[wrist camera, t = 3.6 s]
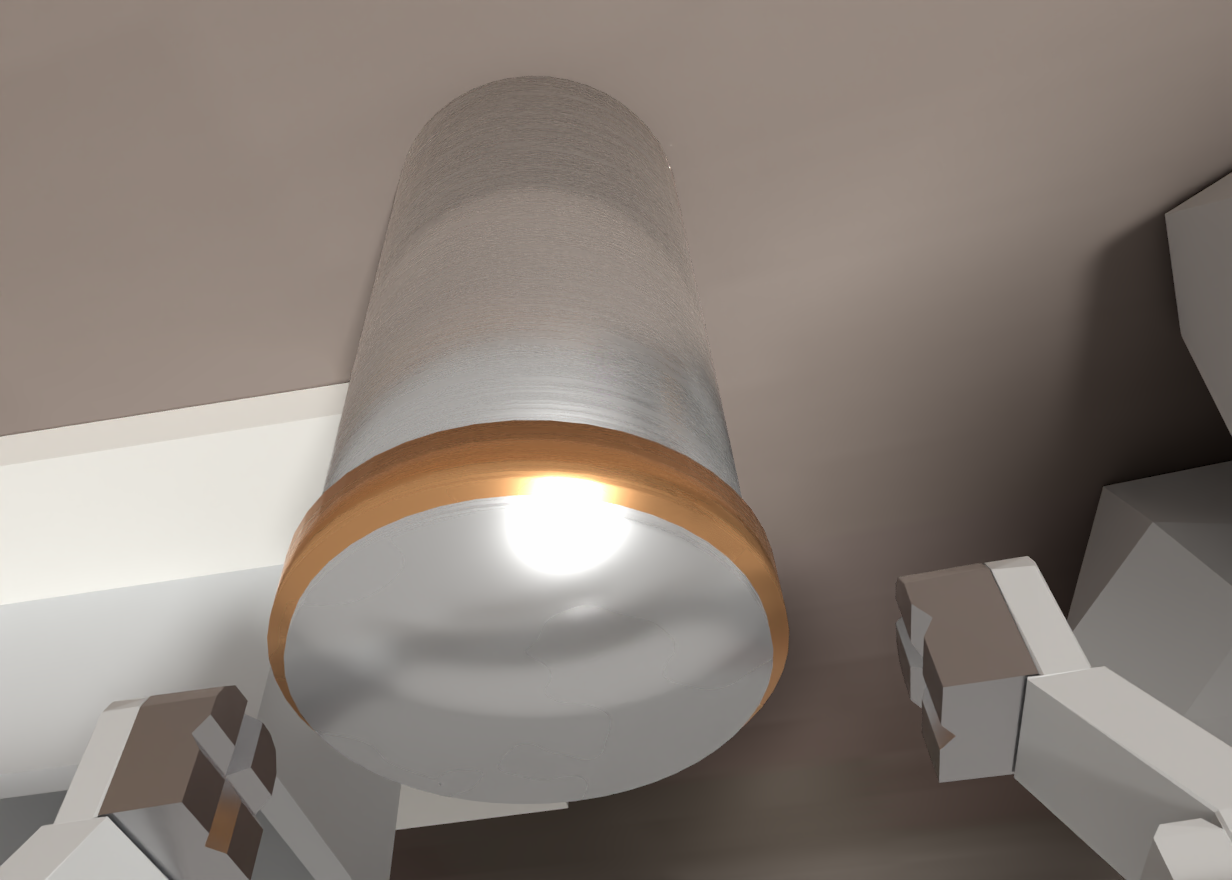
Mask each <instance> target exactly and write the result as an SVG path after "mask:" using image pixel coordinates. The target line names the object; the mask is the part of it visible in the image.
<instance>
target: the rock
mask: <svg viewBox="0 0 1232 880" xmlns="http://www.w3.org/2000/svg"><path fill="white" fill-rule="evenodd" d="M1165 219H1166V227H1167V234H1168V241H1169V249H1170V256H1171V264H1172V271H1173V279H1174V286H1175V294H1176V301H1177V309H1178V316H1179V324H1180V331H1181V336H1182V338H1183V340H1184V342H1185V344H1186V346H1187V348H1188V350H1189V352H1190V354H1191V356H1192V358H1193V360H1194V362H1195V364H1196V366H1197V368H1198V370H1199V372H1200V374H1201V376H1202V378H1203V380H1204V382H1205V384H1206V386H1207V388H1208V390H1209V392H1210V394H1211V396H1212V398H1213V400H1214V402H1215V404H1216V406H1217V408H1218V410H1219V412H1220V414H1221V416H1222V418H1223V420H1224V422H1225V424H1226V426H1227V428H1228V430H1229V432H1230V434H1231V436H1232V172H1231V173H1230V174H1228V175H1227V176H1225V177H1223V178H1222V179H1220V180H1219V181H1217V182H1215V183H1214V184H1212V185H1211V186H1209V187H1207V188H1206V189H1204V190H1203V191H1201V192H1199V193H1198V194H1196V195H1195V196H1193V197H1191V198H1190V199H1188V200H1187V201H1185V202H1183V203H1182V204H1180V205H1179V206H1177V207H1175V208H1174V209H1172V210H1171V211H1169V212H1167V213H1166V214H1165ZM1067 622H1068V624H1069V626H1070V628H1071V630H1072V632H1073V634H1074V635H1075V637H1076V639H1077V641H1078V643H1079V645H1080V647H1081V649H1082V650H1083V652H1084V654H1085V656H1086V658H1087V660H1088V662H1089V664H1090V665H1091V667H1100V666H1106V667H1108V668H1109V669H1111V670H1112V671H1114V672H1115V673H1117V674H1119V675H1120V676H1122V677H1123V678H1125V679H1126V680H1128V681H1129V682H1131V683H1133V684H1134V685H1136V686H1137V687H1139V688H1140V689H1142V690H1143V691H1145V692H1147V693H1148V694H1150V695H1151V696H1153V697H1154V698H1156V699H1157V700H1159V701H1161V702H1162V703H1164V704H1165V705H1167V706H1168V707H1170V708H1171V709H1173V710H1175V711H1176V712H1178V713H1179V714H1181V715H1182V716H1184V717H1185V718H1187V719H1189V720H1190V721H1192V722H1193V723H1195V724H1196V725H1198V726H1199V727H1201V728H1203V729H1204V730H1206V731H1207V732H1209V733H1210V734H1212V735H1213V736H1215V737H1217V738H1218V739H1220V740H1221V741H1223V742H1224V743H1226V744H1227V745H1229V746H1231V747H1232V461H1228V462H1223V463H1218V464H1213V465H1208V466H1203V467H1198V468H1193V469H1188V470H1183V471H1178V472H1173V473H1168V474H1163V475H1158V476H1153V477H1148V478H1143V479H1138V480H1133V481H1128V482H1123V483H1118V484H1113V485H1108V486H1103V489H1102V493H1101V497H1100V500H1099V504H1098V508H1097V511H1096V515H1095V519H1094V522H1093V526H1092V530H1091V533H1090V537H1089V541H1088V544H1087V548H1086V552H1085V555H1084V559H1083V563H1082V567H1081V570H1080V574H1079V578H1078V581H1077V585H1076V589H1075V592H1074V596H1073V600H1072V603H1071V607H1070V611H1069V614H1068V618H1067Z"/></svg>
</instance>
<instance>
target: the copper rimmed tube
mask: <svg viewBox="0 0 1232 880" xmlns="http://www.w3.org/2000/svg"><path fill="white" fill-rule="evenodd" d="M267 644H268V655H269V661H270V665H271V668H272V671H273V674H274V678H275V680H276V682H277V684H278V686H279V688H280V690H281V692H282V693H283V695H284V697H285V699H286V700H287V702H288V703H289V704H290V705H291V707H292V708H293V709H294V711H295V712H296V713H297V714H298V716H299V717H300V718H301V719H302V720H303V721H304V722H305V723H306V724H307V725H309V726H310V727H311V728H312V729H313V730H314V731H315V732H316V733H317V734H318V735H319V736H320V737H321V738H323V739H324V740H325V741H326V742H327V743H328V744H329V745H330V746H332V747H333V748H334V749H336V750H337V751H338V752H340V753H341V754H342V755H344V756H345V757H347V758H348V759H350V760H352V761H353V762H355V763H357V764H359V765H360V766H362V767H364V768H366V769H367V770H369V771H371V772H374V773H376V774H378V775H380V776H383V777H385V778H387V779H389V780H392V781H394V782H397V783H400V784H403V785H406V786H409V787H412V788H415V789H418V790H422V791H426V792H430V793H434V794H437V795H441V796H447V797H452V798H458V799H464V800H470V801H479V802H488V803H503V804H549V803H560V802H571V801H579V800H585V799H591V798H598V797H603V796H608V795H612V794H616V793H620V792H624V791H629V790H632V789H635V788H638V787H641V786H644V785H647V784H651V783H654V782H656V781H658V780H661V779H663V778H666V777H668V776H671V775H673V774H676V773H678V772H679V771H681V770H683V769H685V768H687V767H689V766H691V765H693V764H695V763H697V762H699V761H700V760H702V759H703V758H705V757H706V756H708V755H709V754H711V753H712V752H714V751H716V750H717V749H718V748H719V747H721V746H722V745H723V744H724V743H726V742H727V741H728V740H729V739H730V738H732V737H733V736H734V735H735V734H736V733H737V732H738V731H739V730H740V729H741V728H742V727H743V726H744V725H746V724H747V723H748V721H749V720H750V719H751V718H752V717H753V716H754V715H755V714H756V713H757V712H758V711H759V710H760V709H761V708H762V706H763V705H764V703H765V702H766V701H767V699H768V698H769V696H770V695H771V693H772V692H773V691H774V689H775V687H776V685H777V682H778V680H779V678H780V676H781V674H782V672H783V669H784V665H785V661H786V657H787V654H788V645H789V626H788V620H787V614H786V608H785V604H784V600H783V595H782V591H781V587H780V582H779V578H778V574H777V570H776V565H775V561H774V557H773V552H772V549H771V547H770V544H769V541H768V539H767V536H766V533H765V531H764V529H763V527H762V526H761V524H760V522H759V521H758V519H757V518H756V516H755V514H754V513H753V511H752V509H751V508H750V507H749V506H748V505H747V504H746V503H745V502H744V500H743V499H742V497H741V492H740V487H739V482H738V478H737V473H736V468H735V464H734V459H733V454H732V449H731V445H730V440H729V435H728V431H727V426H726V421H725V416H724V412H723V407H722V402H721V398H720V393H719V388H718V384H717V379H716V374H715V369H714V365H713V360H712V355H711V351H710V346H709V341H708V336H707V332H706V327H705V322H704V318H703V313H702V308H701V303H700V299H699V294H698V289H697V285H696V280H695V275H694V270H693V266H692V261H691V256H690V252H689V247H688V242H687V238H686V233H685V228H684V223H683V219H682V214H681V209H680V205H679V200H678V195H677V190H676V186H675V181H674V176H673V173H672V170H671V167H670V164H669V162H668V159H667V157H666V155H665V153H664V151H663V149H662V147H661V145H660V143H659V142H658V141H657V139H656V138H655V136H654V135H653V134H652V132H651V131H650V129H649V128H648V127H647V126H646V125H645V124H644V123H643V122H642V121H641V120H640V119H639V118H638V117H637V115H635V114H634V113H633V112H632V111H630V110H629V109H628V108H627V107H625V106H624V105H623V104H622V103H620V102H618V101H617V100H615V99H614V98H612V97H610V96H609V95H607V94H605V93H603V92H601V91H599V90H596V89H594V88H592V87H589V86H587V85H584V84H580V83H577V82H574V81H570V80H566V79H559V78H553V77H536V76H526V77H517V78H508V79H504V80H500V81H496V82H491V83H488V84H485V85H483V86H480V87H478V88H475V89H473V90H470V91H469V92H467V93H465V94H463V95H461V96H460V97H458V98H456V99H454V100H453V101H452V102H450V103H449V104H448V105H446V106H445V107H444V108H442V109H441V110H440V111H439V112H438V113H437V114H436V115H435V116H434V117H433V118H432V119H431V120H430V121H429V122H428V123H427V124H426V125H425V126H424V128H423V129H422V131H421V132H420V133H419V135H418V136H417V137H416V139H415V141H414V143H413V145H412V147H411V148H410V150H409V152H408V154H407V157H406V160H405V163H404V166H403V169H402V172H401V176H400V180H399V184H398V188H397V192H396V196H395V200H394V204H393V208H392V212H391V217H390V221H389V225H388V229H387V233H386V237H385V241H384V245H383V249H382V253H381V257H380V261H379V265H378V269H377V273H376V277H375V281H374V285H373V289H372V293H371V298H370V302H369V306H368V310H367V314H366V318H365V322H364V326H363V330H362V334H361V338H360V342H359V346H358V350H357V354H356V358H355V362H354V366H353V370H352V374H351V379H350V383H349V387H348V391H347V395H346V399H345V403H344V407H343V411H342V415H341V419H340V423H339V427H338V431H337V435H336V439H335V443H334V447H333V451H332V456H331V460H330V464H329V468H328V472H327V476H326V480H325V484H324V488H323V492H322V495H321V497H320V498H319V499H318V500H317V501H316V502H315V503H314V505H313V506H312V507H311V508H310V509H309V510H308V511H307V513H306V515H305V516H304V518H303V520H302V521H301V523H300V525H299V526H298V528H297V530H296V531H295V533H294V535H293V538H292V541H291V544H290V546H289V549H288V552H287V555H286V558H285V562H284V566H283V569H282V573H281V577H280V581H279V584H278V588H277V592H276V595H275V599H274V603H273V607H272V610H271V614H270V620H269V627H268V634H267Z"/></svg>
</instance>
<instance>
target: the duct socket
mask: <svg viewBox="0 0 1232 880" xmlns="http://www.w3.org/2000/svg"><path fill="white" fill-rule="evenodd" d="M348 387H349V383H343V384H337V385H330V386H324V387H317V388H311V389H305V390H298V391H292V392H285V393H279V394H272V395H266V396H260V397H253V398H247V399H240V400H234V401H227V402H221V403H214V404H208V405H202V406H195V407H189V408H182V409H176V410H169V411H163V412H157V413H150V414H144V415H137V416H131V417H124V418H118V419H112V420H105V421H99V422H92V423H86V424H79V425H73V426H67V427H60V428H54V429H47V430H41V431H34V432H28V433H21V434H15V435H9V436H2V437H0V866H1V865H2V864H3V863H4V862H5V861H6V860H7V859H8V858H9V857H10V856H11V855H12V854H13V853H15V852H16V851H17V850H18V849H19V848H20V847H21V846H22V845H23V844H24V843H25V842H26V841H27V840H28V839H29V838H30V837H31V836H32V835H33V834H34V833H35V832H36V831H37V830H38V829H39V828H40V827H41V826H44V825H50V824H54V821H55V819H56V817H57V814H58V812H59V810H60V807H61V805H62V803H63V800H64V798H65V796H66V793H67V791H68V789H69V786H70V784H71V782H72V780H73V777H74V775H75V773H76V770H77V768H78V766H79V763H80V761H81V759H82V756H83V754H84V752H85V749H86V747H87V745H88V742H89V740H90V738H91V735H92V733H93V731H94V729H95V726H96V724H97V722H98V719H99V717H100V715H101V713H102V712H103V711H104V710H105V709H106V708H107V707H108V706H109V705H110V704H111V703H112V702H114V701H120V700H127V699H134V698H141V697H148V696H154V695H161V694H169V693H176V692H184V691H191V690H199V689H206V688H214V687H221V686H232V685H236V687H237V688H238V689H239V690H240V692H241V693H242V694H243V695H244V697H245V698H246V699H247V701H248V702H247V706H246V709H245V713H244V714H246V715H248V716H250V717H253V718H255V719H257V720H259V721H261V722H263V723H264V725H265V726H266V728H267V729H268V731H269V732H270V734H271V737H272V740H273V743H274V746H275V749H276V770H277V774H276V779H275V783H274V788H273V792H272V796H271V797H270V798H269V800H268V801H267V802H266V803H265V804H264V805H263V807H262V808H261V809H260V810H259V811H258V812H257V813H256V817H257V818H258V820H259V822H260V824H261V826H262V828H263V833H262V837H261V841H260V845H259V849H258V853H257V857H256V861H255V865H254V869H253V873H252V877H251V880H389V879H390V871H391V863H392V855H393V847H394V838H395V830H399V829H407V828H415V827H423V826H431V825H439V824H447V823H455V822H462V821H470V820H478V819H486V818H494V817H502V816H510V815H518V814H526V813H533V812H541V811H549V810H557V809H565V808H568V802H560V803H549V804H503V803H488V802H479V801H470V800H464V799H458V798H452V797H447V796H441V795H437V794H434V793H430V792H426V791H422V790H418V789H415V788H412V787H409V786H406V785H403V784H400V783H397V782H394V781H392V780H389V779H387V778H385V777H383V776H380V775H378V774H376V773H374V772H371V771H369V770H367V769H366V768H364V767H362V766H360V765H359V764H357V763H355V762H353V761H352V760H350V759H348V758H347V757H345V756H344V755H342V754H341V753H340V752H338V751H337V750H336V749H334V748H333V747H332V746H330V745H329V744H328V743H327V742H326V741H325V740H324V739H323V738H321V737H320V736H319V735H318V734H317V733H316V732H315V731H314V730H313V729H312V728H311V727H310V726H309V725H307V724H306V723H305V722H304V721H303V720H302V719H301V718H300V717H299V716H298V714H297V713H296V712H295V711H294V709H293V708H292V707H291V705H290V704H289V703H288V702H287V700H286V699H285V697H284V695H283V693H282V692H281V690H280V688H279V686H278V684H277V682H276V680H275V678H274V674H273V671H272V668H271V665H270V661H269V655H268V644H267V634H268V627H269V620H270V614H271V610H272V607H273V603H274V599H275V595H276V592H277V588H278V584H279V581H280V577H281V573H282V569H283V566H284V562H285V558H286V555H287V552H288V549H289V546H290V544H291V541H292V538H293V535H294V533H295V531H296V530H297V528H298V526H299V525H300V523H301V521H302V520H303V518H304V516H305V515H306V513H307V511H308V510H309V509H310V508H311V507H312V506H313V505H314V503H315V502H316V501H317V500H318V499H319V498H320V497H321V495H322V492H323V488H324V484H325V480H326V476H327V472H328V468H329V464H330V460H331V456H332V451H333V447H334V443H335V439H336V435H337V431H338V427H339V423H340V419H341V415H342V411H343V407H344V403H345V399H346V395H347V391H348Z"/></svg>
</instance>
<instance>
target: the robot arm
mask: <svg viewBox="0 0 1232 880" xmlns="http://www.w3.org/2000/svg"><path fill="white" fill-rule="evenodd" d="M896 601H897V604H898V607H899V610H900V613H901V615H902V617H901V618H900V619H899V620H898V621H897V622H896V642H897V649H898V655H899V662H900V666H901V670H902V674H903V677H904V681H905V684H906V687H907V690H908V694H909V697H910V700H911V701H913V702H914V703H915V704H917V705H918V706H919V707H921V708H922V735H923V738H924V741H925V744H926V747H927V749H928V752H929V755H930V758H931V761H932V764H933V767H934V769H935V772H936V775H937V778H938V781H939V783H941V782H949V781H958V780H966V779H975V778H983V777H992V776H1000V775H1009V774H1014V778H1015V779H1016V780H1017V781H1018V782H1019V783H1020V784H1022V785H1023V786H1024V787H1025V788H1026V789H1027V790H1028V791H1029V792H1030V793H1031V794H1032V795H1034V796H1035V797H1036V798H1037V799H1038V800H1039V801H1040V802H1041V803H1042V804H1043V805H1045V806H1046V807H1047V808H1048V809H1049V810H1050V811H1051V812H1052V813H1053V814H1054V815H1056V816H1057V817H1058V818H1059V819H1060V820H1061V821H1062V822H1063V823H1064V824H1065V825H1066V826H1068V827H1069V828H1070V829H1071V830H1072V831H1073V832H1074V833H1075V834H1076V835H1077V836H1079V837H1080V838H1081V839H1082V840H1083V841H1084V842H1085V843H1086V844H1087V845H1088V846H1090V847H1091V848H1092V849H1093V850H1094V851H1095V852H1096V853H1097V854H1098V855H1099V856H1100V857H1102V858H1103V859H1104V860H1105V861H1106V862H1107V863H1108V864H1109V865H1110V866H1111V867H1113V868H1114V869H1115V870H1116V871H1117V872H1118V873H1119V874H1120V875H1121V876H1122V877H1124V878H1125V879H1126V880H1232V747H1231V746H1229V745H1227V744H1226V743H1224V742H1223V741H1221V740H1220V739H1218V738H1217V737H1215V736H1213V735H1212V734H1210V733H1209V732H1207V731H1206V730H1204V729H1203V728H1201V727H1199V726H1198V725H1196V724H1195V723H1193V722H1192V721H1190V720H1189V719H1187V718H1185V717H1184V716H1182V715H1181V714H1179V713H1178V712H1176V711H1175V710H1173V709H1171V708H1170V707H1168V706H1167V705H1165V704H1164V703H1162V702H1161V701H1159V700H1157V699H1156V698H1154V697H1153V696H1151V695H1150V694H1148V693H1147V692H1145V691H1143V690H1142V689H1140V688H1139V687H1137V686H1136V685H1134V684H1133V683H1131V682H1129V681H1128V680H1126V679H1125V678H1123V677H1122V676H1120V675H1119V674H1117V673H1115V672H1114V671H1112V670H1111V669H1109V668H1108V667H1106V666H1100V667H1091V665H1090V664H1089V662H1088V660H1087V658H1086V656H1085V654H1084V652H1083V650H1082V649H1081V647H1080V645H1079V643H1078V641H1077V639H1076V637H1075V635H1074V634H1073V632H1072V630H1071V628H1070V626H1069V624H1068V622H1067V620H1066V619H1065V617H1064V615H1063V613H1062V611H1061V609H1060V607H1059V606H1058V604H1057V602H1056V600H1055V598H1054V596H1053V594H1052V592H1051V591H1050V589H1049V587H1048V585H1047V583H1046V581H1045V579H1044V577H1043V576H1042V574H1041V572H1040V570H1039V568H1038V566H1037V564H1036V563H1035V561H1033V560H1032V559H1031V558H1030V557H1028V556H1024V557H1018V558H1011V559H1005V560H999V561H993V562H987V563H984V564H981V563H976V564H970V565H964V566H959V567H953V568H947V569H941V570H936V571H930V572H924V573H918V574H912V575H907V576H901V577H898V578H897V582H896ZM247 702H248V701H247V699H246V698H245V697H244V695H243V694H242V693H241V692H240V690H239V689H238V688H237V687H236V685H232V686H221V687H214V688H206V689H199V690H191V691H184V692H176V693H169V694H161V695H154V696H148V697H141V698H134V699H127V700H120V701H114V702H112V703H111V704H110V705H109V706H108V707H107V708H106V709H105V710H104V711H103V712H102V713H101V715H100V717H99V719H98V722H97V724H96V726H95V729H94V731H93V733H92V735H91V738H90V740H89V742H88V745H87V747H86V749H85V752H84V754H83V756H82V759H81V761H80V763H79V766H78V768H77V770H76V773H75V775H74V777H73V780H72V782H71V784H70V786H69V789H68V791H67V793H66V796H65V798H64V800H63V803H62V805H61V807H60V810H59V812H58V814H57V817H56V819H55V821H54V824H50V825H44V826H41V827H40V828H39V829H38V830H37V831H36V832H35V833H34V834H33V835H32V836H31V837H30V838H29V839H28V840H27V841H26V842H25V843H24V844H23V845H22V846H21V847H20V848H19V849H18V850H17V851H16V852H15V853H13V854H12V855H11V856H10V857H9V858H8V859H7V860H6V861H5V862H4V863H3V864H2V865H1V866H0V880H251V877H252V873H253V869H254V865H255V861H256V857H257V853H258V849H259V845H260V841H261V837H262V833H263V828H262V826H261V824H260V822H259V820H258V818H257V817H256V813H257V812H258V811H259V810H260V809H261V808H262V807H263V805H264V804H265V803H266V802H267V801H268V800H269V798H270V797H271V796H272V792H273V788H274V783H275V779H276V774H277V770H276V749H275V746H274V743H273V740H272V737H271V734H270V732H269V731H268V729H267V728H266V726H265V725H264V723H263V722H261V721H259V720H257V719H255V718H253V717H250V716H248V715H246V714H244V713H245V709H246V706H247Z"/></svg>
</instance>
